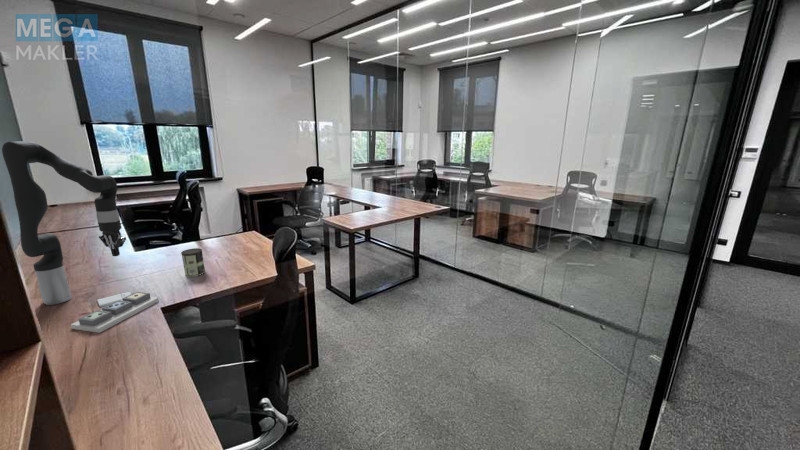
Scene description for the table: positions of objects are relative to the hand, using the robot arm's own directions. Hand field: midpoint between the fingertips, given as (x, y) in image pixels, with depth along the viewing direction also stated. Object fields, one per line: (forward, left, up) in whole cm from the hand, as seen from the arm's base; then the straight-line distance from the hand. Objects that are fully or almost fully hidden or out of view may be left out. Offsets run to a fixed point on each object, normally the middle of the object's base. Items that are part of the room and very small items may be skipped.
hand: (116, 255), depth 149 cm
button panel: (+8, -10, -24) cm, 27 cm away
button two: (+8, -19, -22) cm, 30 cm away
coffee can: (+6, +36, -24) cm, 44 cm away
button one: (+8, -1, -22) cm, 23 cm away
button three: (+8, -10, -22) cm, 25 cm away
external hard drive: (-7, 0, -24) cm, 25 cm away
